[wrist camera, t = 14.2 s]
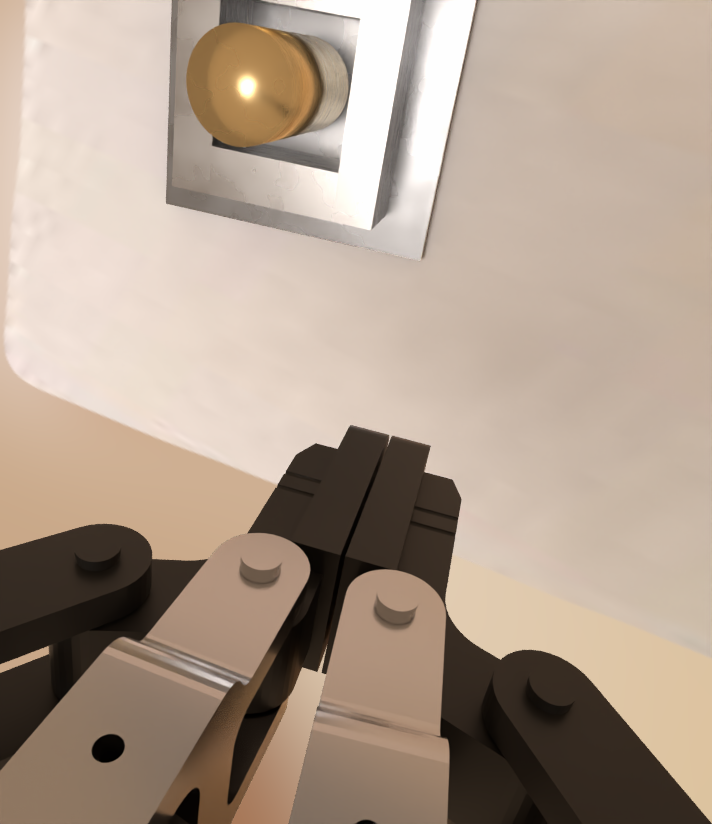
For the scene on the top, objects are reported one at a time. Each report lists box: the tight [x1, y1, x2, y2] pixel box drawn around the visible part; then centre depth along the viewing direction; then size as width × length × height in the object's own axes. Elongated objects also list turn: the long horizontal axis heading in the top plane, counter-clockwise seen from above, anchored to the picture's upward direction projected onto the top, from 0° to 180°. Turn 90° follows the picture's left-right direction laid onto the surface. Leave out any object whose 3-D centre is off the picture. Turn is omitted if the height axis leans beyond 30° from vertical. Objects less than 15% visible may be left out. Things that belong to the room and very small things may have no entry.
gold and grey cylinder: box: [186, 22, 349, 147], centre depth 30 cm, size 4×4×9 cm
